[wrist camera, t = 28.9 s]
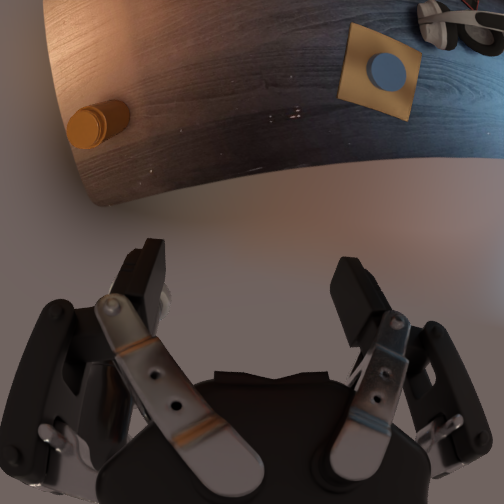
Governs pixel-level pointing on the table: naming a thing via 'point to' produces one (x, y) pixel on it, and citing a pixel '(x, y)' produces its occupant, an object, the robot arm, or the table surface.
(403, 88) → the coaster
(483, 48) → the headphones
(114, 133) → the jar
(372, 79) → the lid
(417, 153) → the table surface
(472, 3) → the smartphone
